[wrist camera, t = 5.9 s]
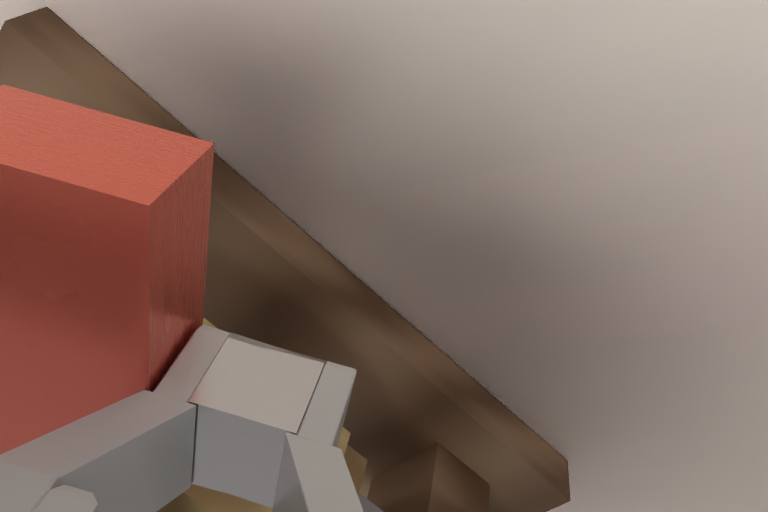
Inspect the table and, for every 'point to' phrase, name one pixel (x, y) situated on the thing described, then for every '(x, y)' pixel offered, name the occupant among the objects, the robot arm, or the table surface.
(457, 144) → the table surface
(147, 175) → the lever
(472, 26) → the table surface
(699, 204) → the table surface
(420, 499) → the valve stand
